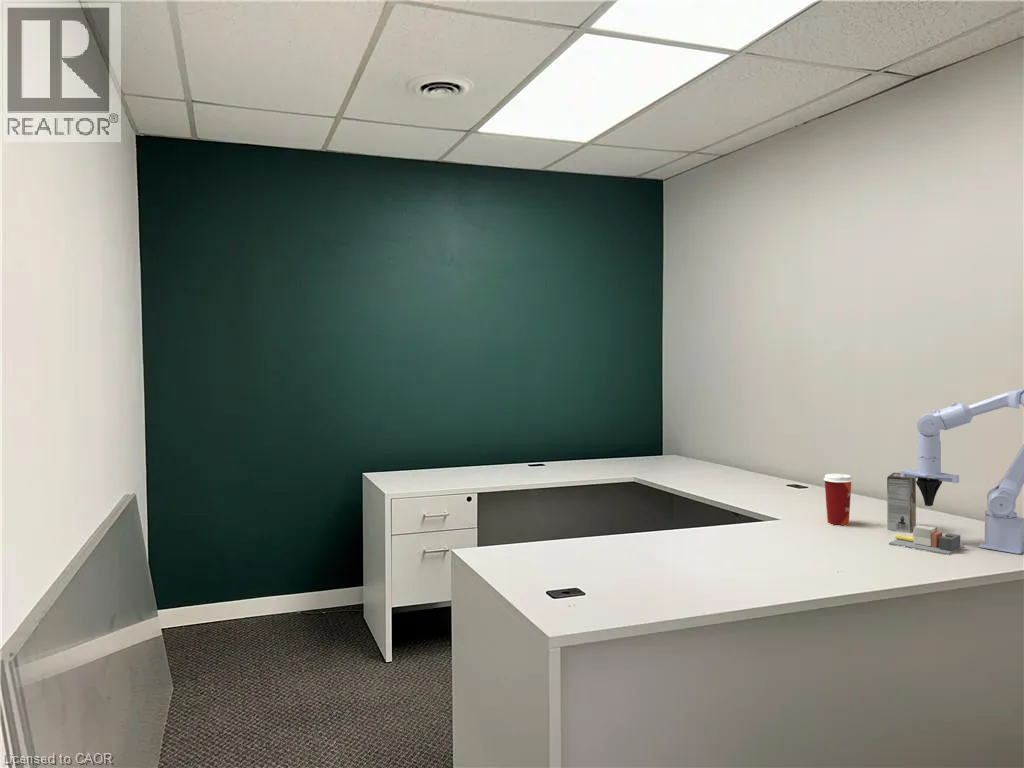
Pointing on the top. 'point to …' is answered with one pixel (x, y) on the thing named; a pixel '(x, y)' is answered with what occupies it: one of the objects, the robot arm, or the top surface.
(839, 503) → the coffee cup
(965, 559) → the top surface
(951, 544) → the dark grey hollow block
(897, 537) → the yellow thin rod
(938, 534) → the orange thin flat block
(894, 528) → the coffee box
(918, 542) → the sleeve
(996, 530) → the robot arm
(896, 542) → the mat
